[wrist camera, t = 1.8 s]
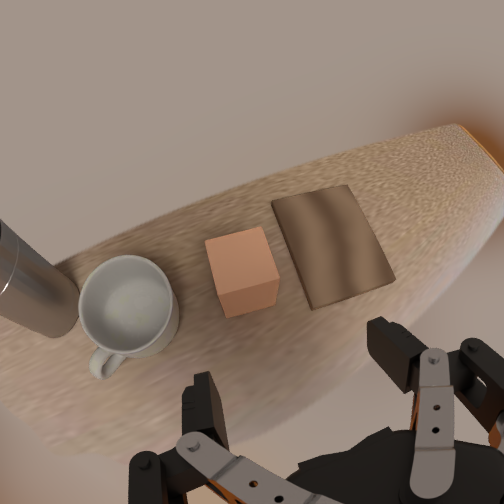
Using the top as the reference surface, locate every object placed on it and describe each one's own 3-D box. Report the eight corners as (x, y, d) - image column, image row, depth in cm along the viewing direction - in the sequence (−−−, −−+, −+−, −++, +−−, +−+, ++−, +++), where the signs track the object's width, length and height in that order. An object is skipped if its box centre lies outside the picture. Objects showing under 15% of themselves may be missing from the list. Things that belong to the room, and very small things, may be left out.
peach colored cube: (226, 318, 35) (217, 295, 27) (215, 274, 37) (204, 240, 30) (275, 305, 35) (280, 278, 28) (260, 261, 38) (261, 226, 31)
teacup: (141, 267, 38) (118, 237, 31) (205, 309, 35) (192, 286, 28) (83, 348, 33) (47, 334, 26) (142, 401, 30) (113, 401, 23)
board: (311, 310, 35) (313, 308, 34) (271, 205, 42) (271, 200, 41) (392, 282, 36) (396, 279, 35) (345, 189, 44) (347, 184, 42)
